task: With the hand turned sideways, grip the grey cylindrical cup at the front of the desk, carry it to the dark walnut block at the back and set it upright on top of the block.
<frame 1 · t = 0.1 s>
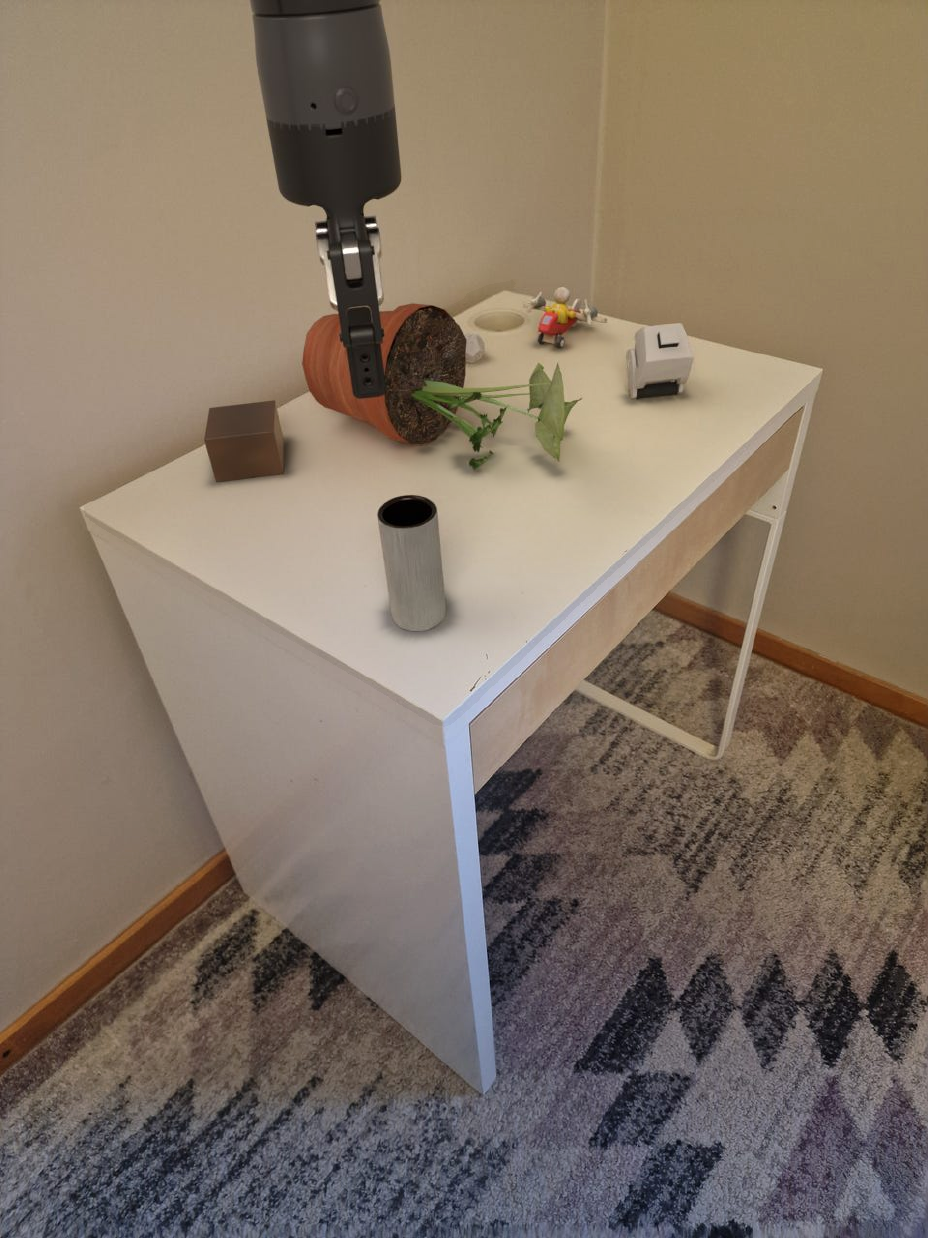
hand: (365, 368, 60), 20 cm above the table, tool pointing down, fingers open, 8 cm apart
potted plant: (465, 448, 92), on the table
block: (251, 461, 92), on the table
white boxy gadget: (653, 395, 98), on the table
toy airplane: (563, 336, 112), on the table
grey cylindrical cup: (419, 615, 71), on the table
grey rock: (471, 360, 108), on the table
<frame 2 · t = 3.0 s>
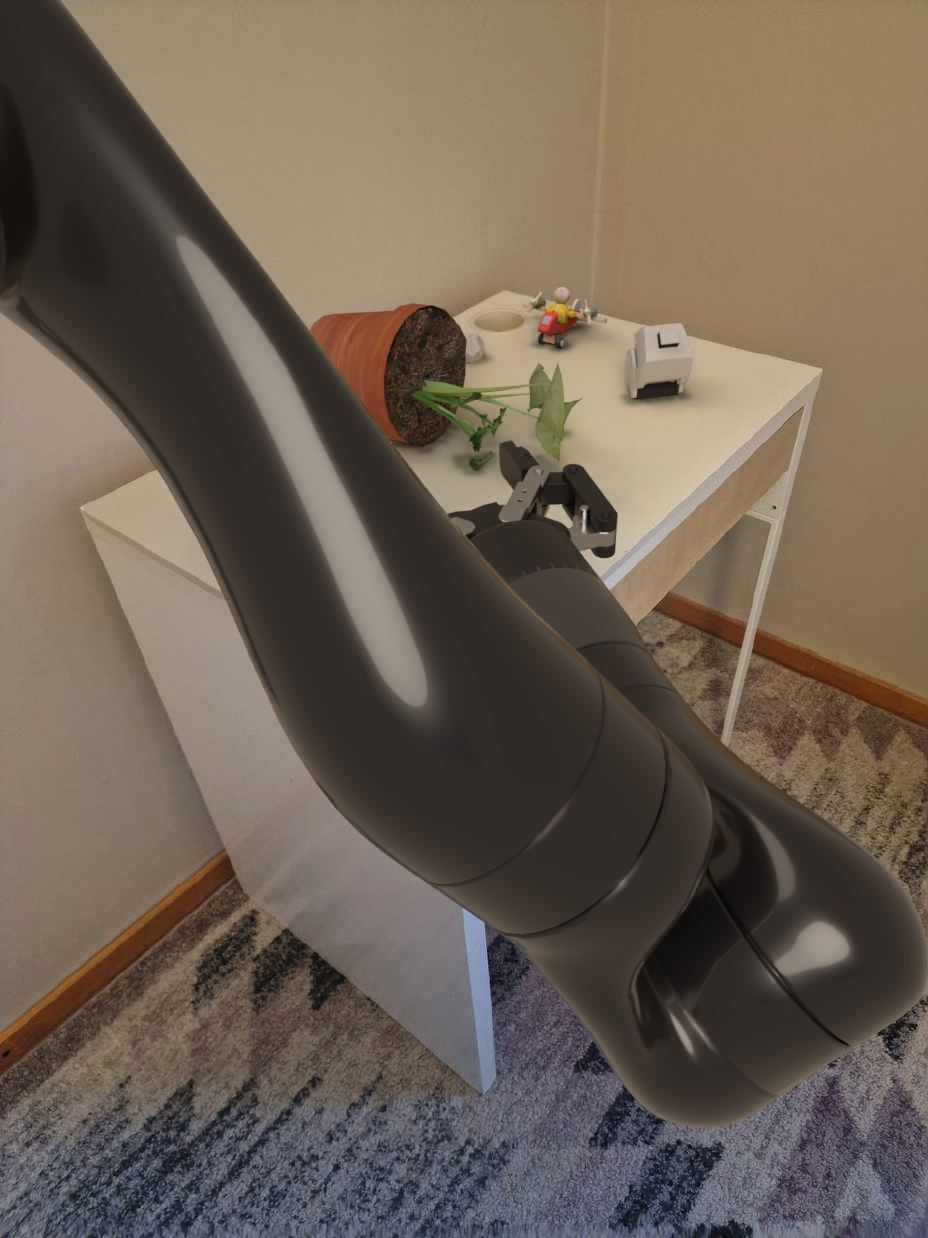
hand: (437, 470, 51), 20 cm above the table, tool horizontal, fingers open, 8 cm apart
nothing on the table moved.
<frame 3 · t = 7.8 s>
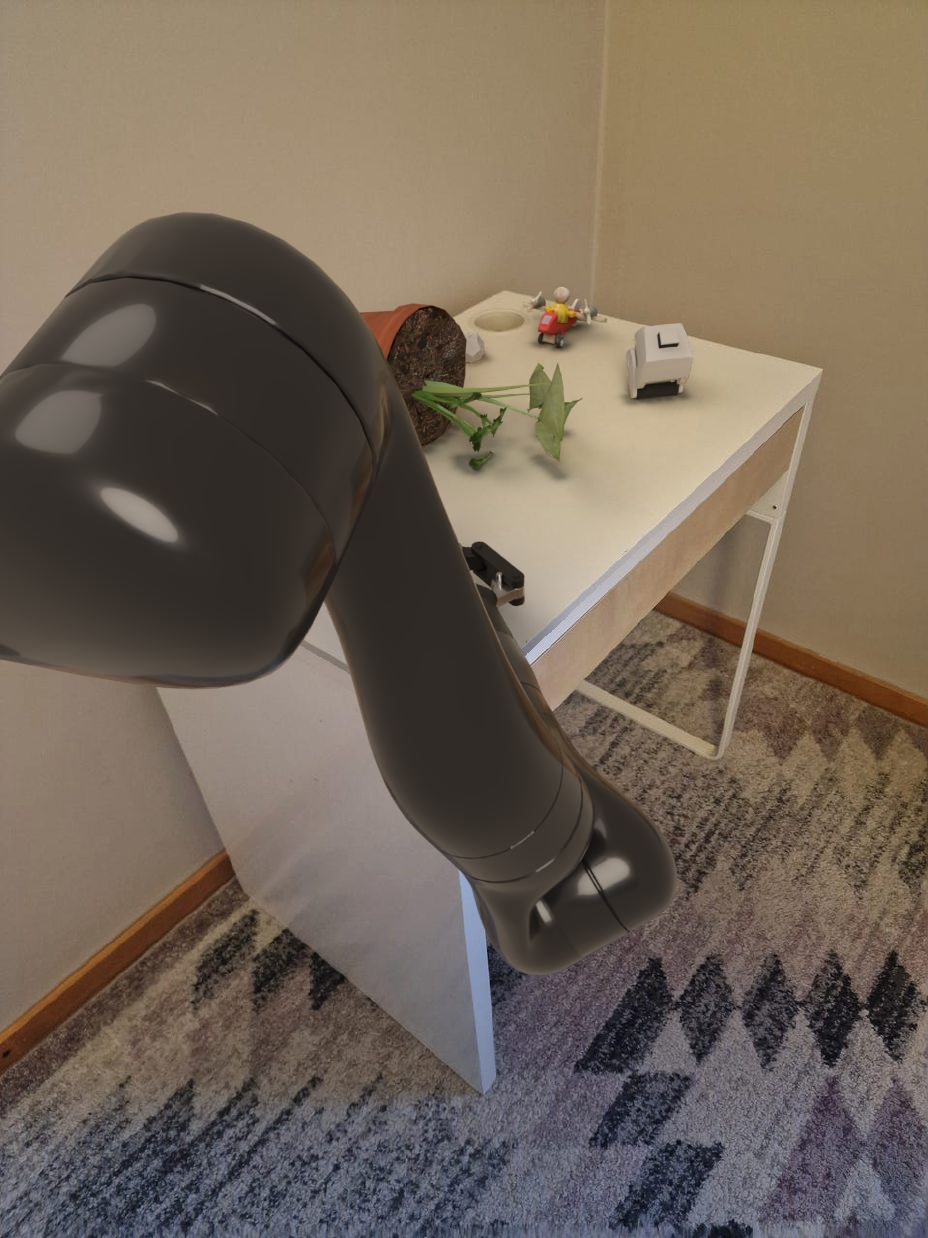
hand: (403, 538, 69), 6 cm above the table, tool horizontal, fingers closed on grey cylindrical cup, 4 cm apart
grey cylindrical cup: (419, 615, 71), on the table, touching gripper
everything else where it was.
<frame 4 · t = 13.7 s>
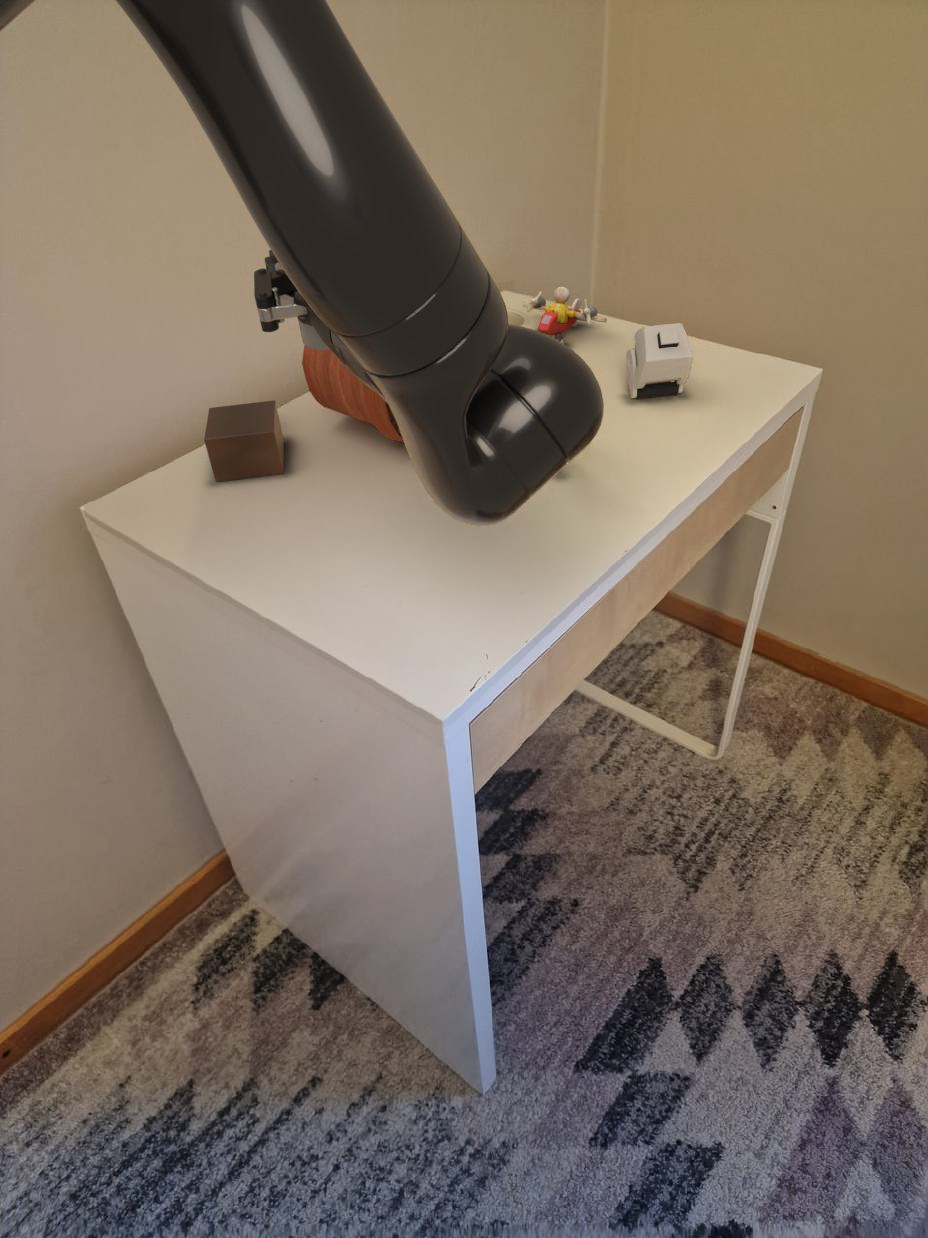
hand: (306, 255, 68), 24 cm above the table, tool horizontal, fingers closed on grey cylindrical cup, 4 cm apart
grey cylindrical cup: (330, 341, 71), point 18 cm above the table, touching gripper
everything else where it was.
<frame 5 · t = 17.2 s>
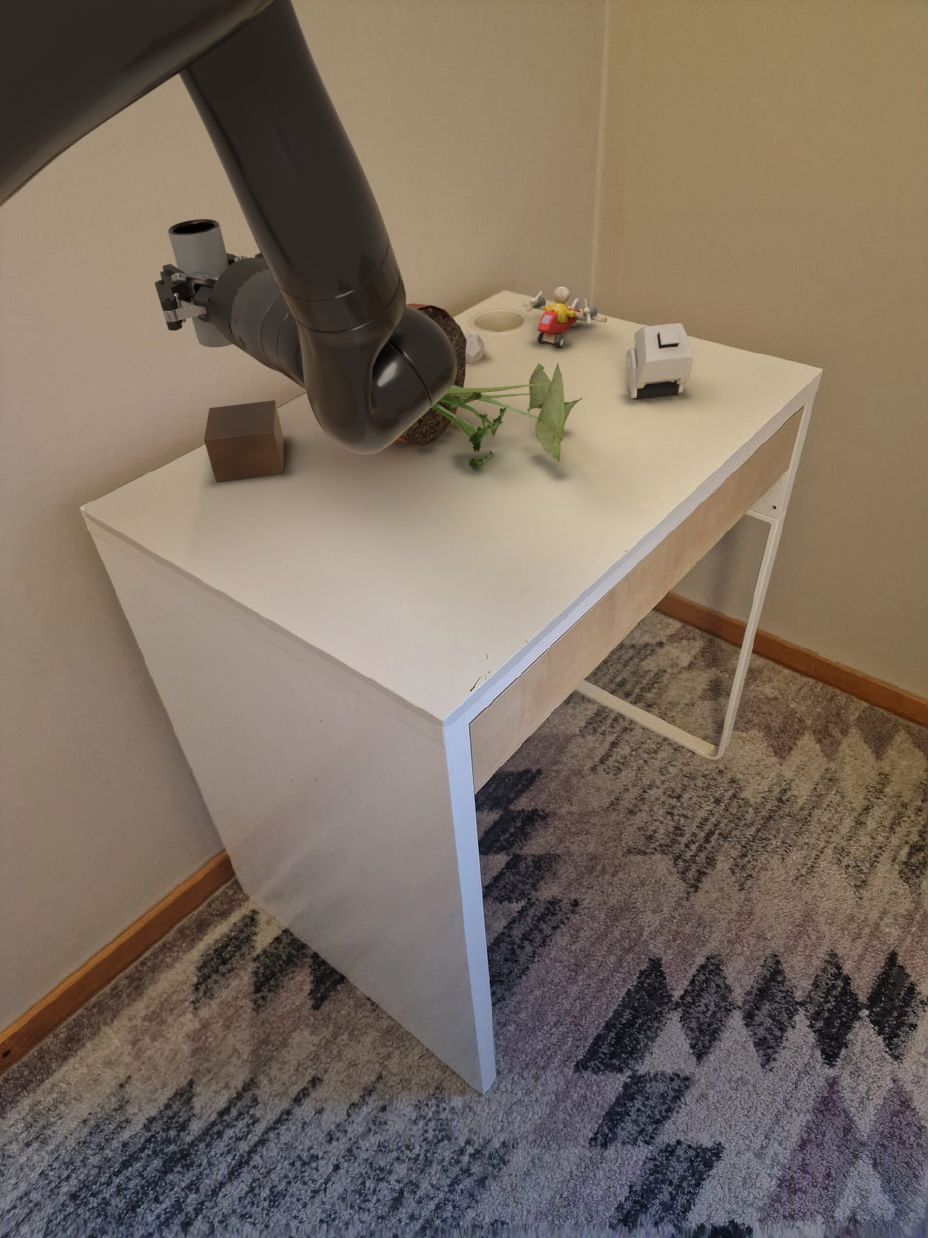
hand: (194, 268, 81), 20 cm above the table, tool horizontal, fingers closed on grey cylindrical cup, 4 cm apart
grey cylindrical cup: (222, 340, 83), point 13 cm above the table, touching gripper
everything else where it was.
when the fingers open (11 cm above the table, at t = 19.9 s): grey cylindrical cup stays where it is, resting on block.
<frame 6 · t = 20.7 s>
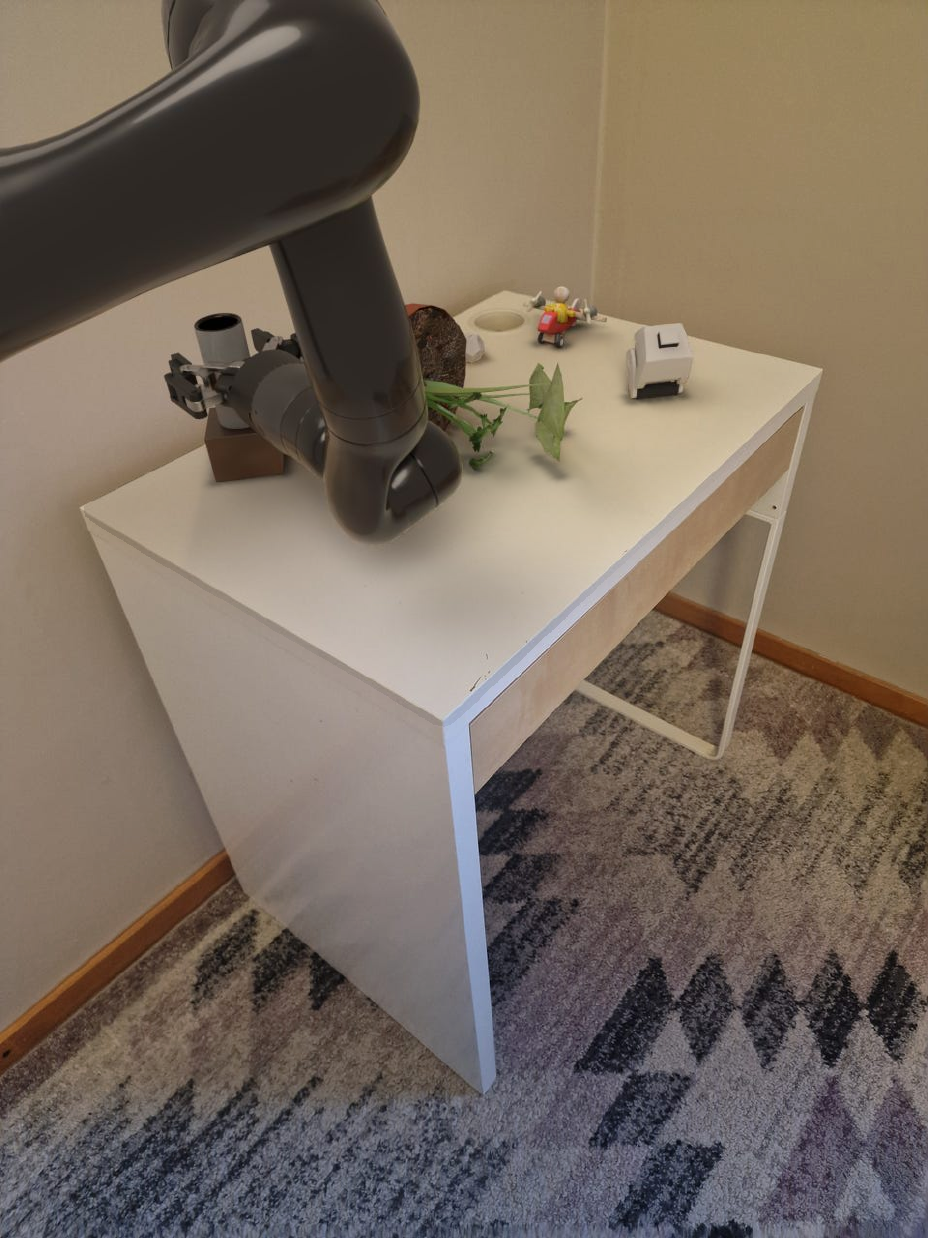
hand: (216, 350, 85), 12 cm above the table, tool horizontal, fingers open, 8 cm apart
block: (251, 461, 92), on the table, touching grey cylindrical cup
grey cylindrical cup: (242, 420, 89), point 5 cm above the table, touching block
everything else where it was.
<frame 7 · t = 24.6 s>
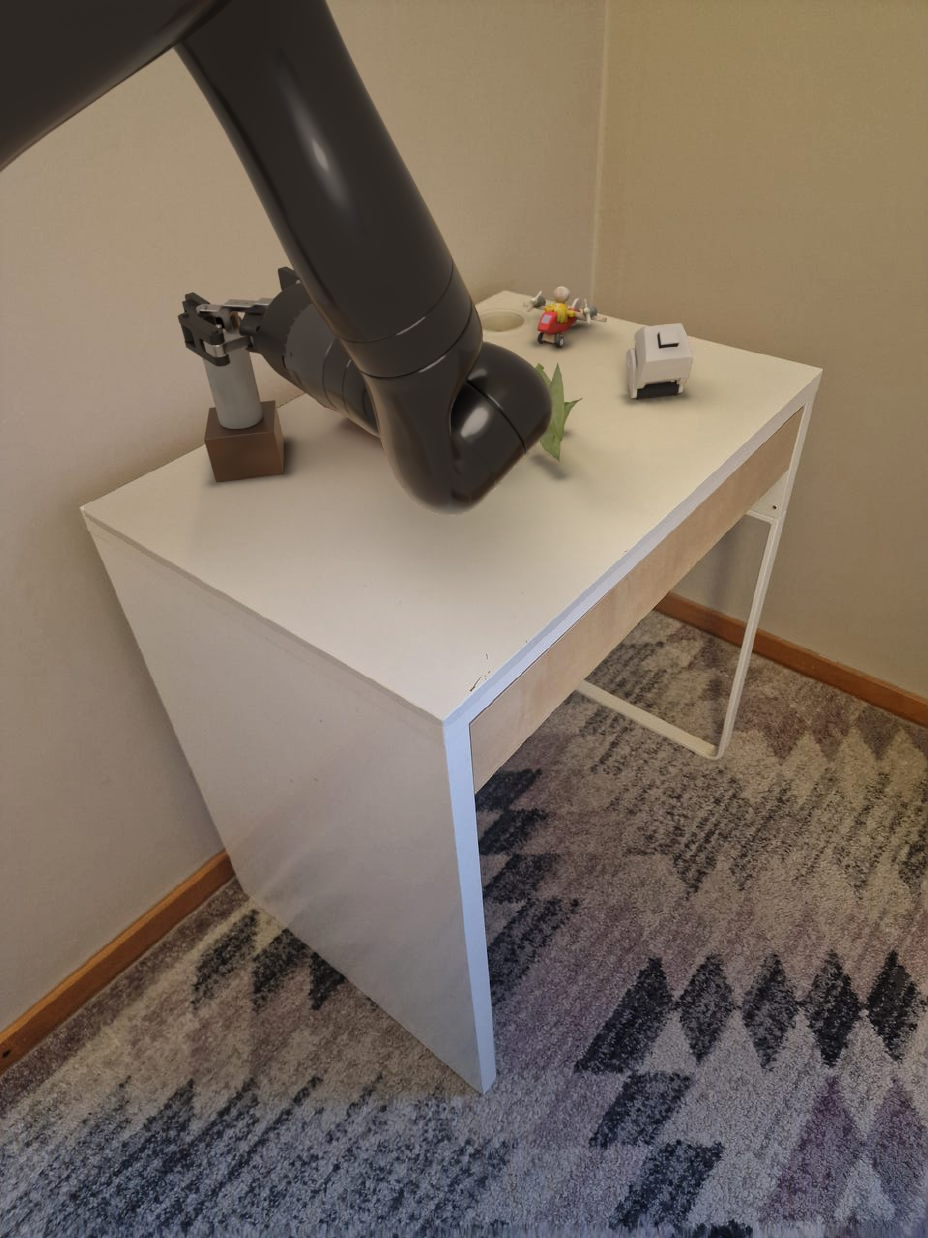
hand: (237, 291, 72), 21 cm above the table, tool horizontal, fingers open, 8 cm apart
nothing on the table moved.
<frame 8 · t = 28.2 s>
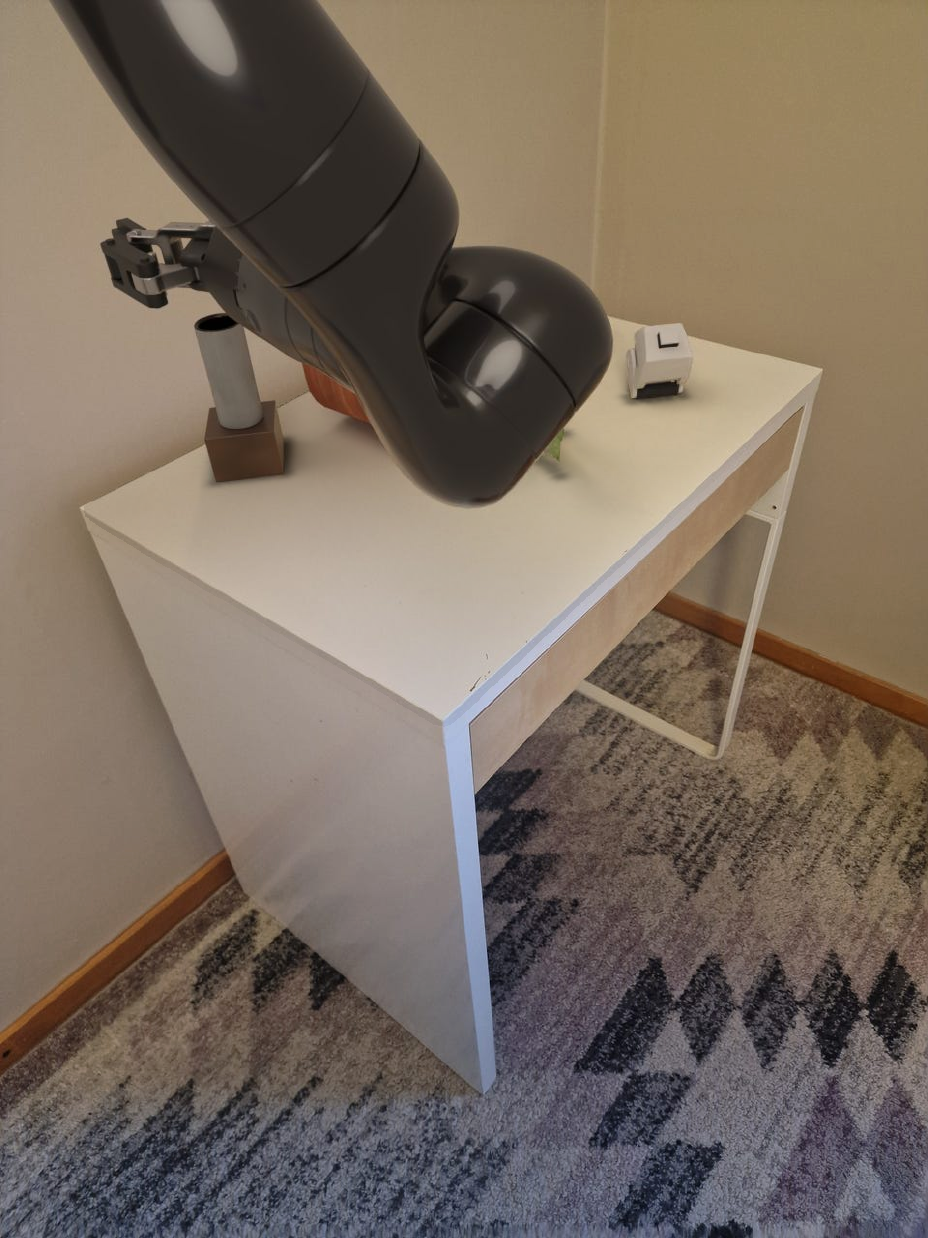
hand: (187, 220, 56), 30 cm above the table, tool horizontal, fingers open, 8 cm apart
nothing on the table moved.
at the end: grey cylindrical cup 0.1 cm off-centre on the block, point 4.8 cm above the block's base; grey cylindrical cup tilted 0°; the gripper is holding nothing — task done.
